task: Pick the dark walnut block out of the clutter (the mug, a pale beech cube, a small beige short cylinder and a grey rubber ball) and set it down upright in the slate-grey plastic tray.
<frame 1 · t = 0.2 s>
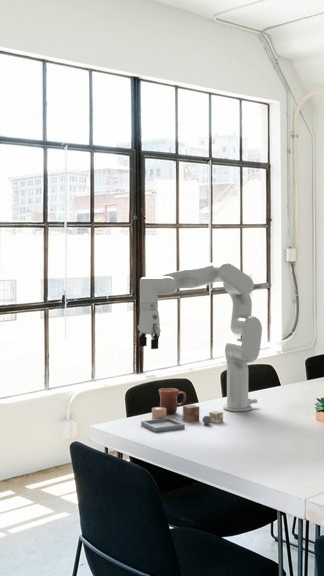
hand: (148, 347, 300), 31 cm above the table, fingers open, 9 cm apart
beech cube: (216, 421, 299), on the table
walnut block: (191, 420, 301), on the table
mug: (172, 413, 314), on the table
tray: (162, 427, 290), on the table
beige short cylinder: (159, 420, 301), on the table
grey ball: (206, 420, 294), point 2 cm above the table
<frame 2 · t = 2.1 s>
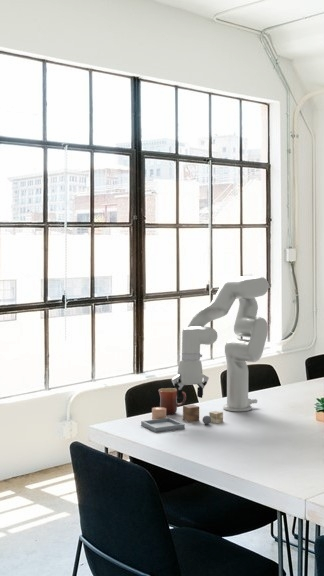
hand: (189, 398, 300), 9 cm above the table, fingers open, 9 cm apart
nothing on the table moved.
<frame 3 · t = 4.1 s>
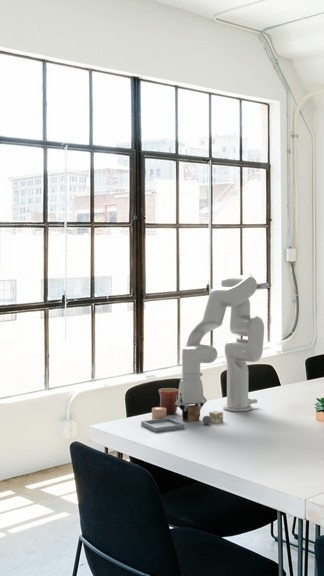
hand: (191, 419, 301), 0 cm above the table, fingers closed on walnut block, 5 cm apart
walnut block: (191, 420, 301), on the table, touching gripper
everything else where it was.
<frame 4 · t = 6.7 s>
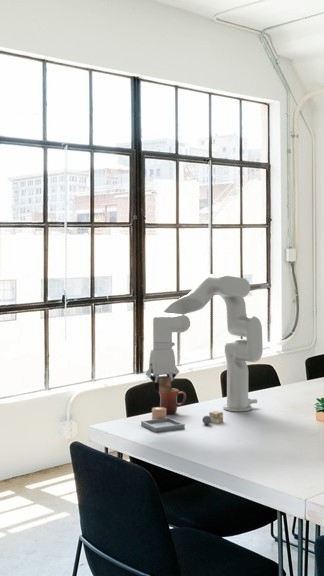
hand: (162, 390, 289), 15 cm above the table, fingers closed on walnut block, 5 cm apart
walnut block: (162, 391, 289), point 14 cm above the table, touching gripper
everything else where it was.
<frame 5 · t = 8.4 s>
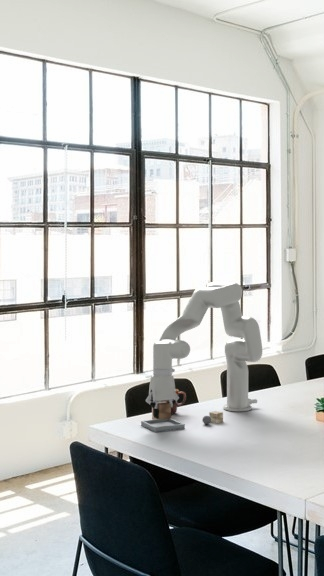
hand: (162, 416, 289), 4 cm above the table, fingers closed on walnut block, 5 cm apart
walnut block: (162, 417, 289), point 4 cm above the table, touching gripper
everything else where it was.
when the fingers open (3 cm above the table, at t = 9.5 s): walnut block drops 2 cm, resting on tray.
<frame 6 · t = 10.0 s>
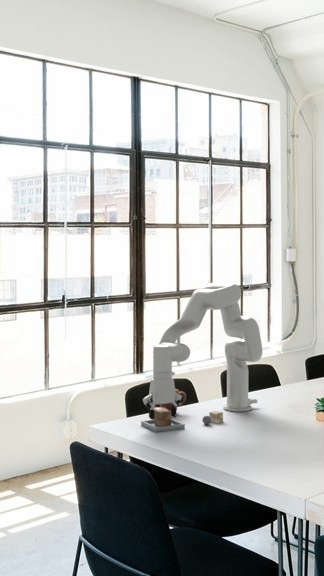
hand: (162, 417, 289), 4 cm above the table, fingers open, 9 cm apart
walnut block: (162, 425, 290), point 1 cm above the table, touching tray
everything else where it was.
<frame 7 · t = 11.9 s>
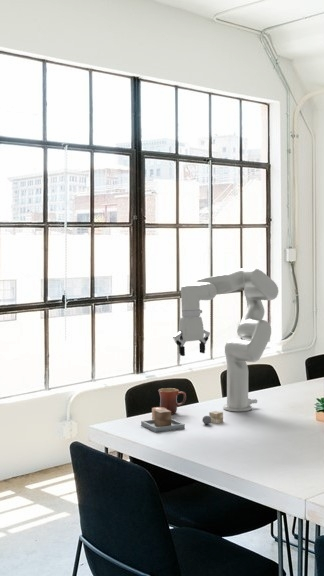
hand: (192, 354, 302), 28 cm above the table, fingers open, 9 cm apart
nothing on the table moved.
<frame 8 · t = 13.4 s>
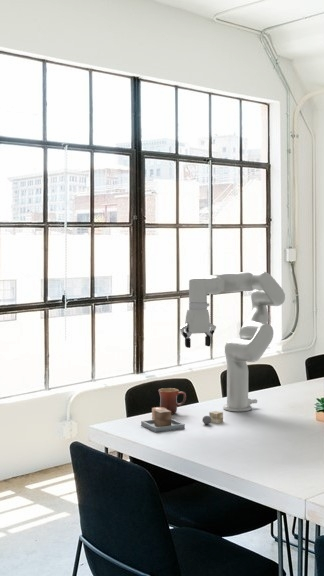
hand: (197, 346, 305), 30 cm above the table, fingers open, 9 cm apart
nothing on the table moved.
at the end: walnut block inside the target area on the tray (0.1 cm from its centre), point 0.6 cm above the tray's base; walnut block tilted 0°; the gripper is holding nothing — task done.
